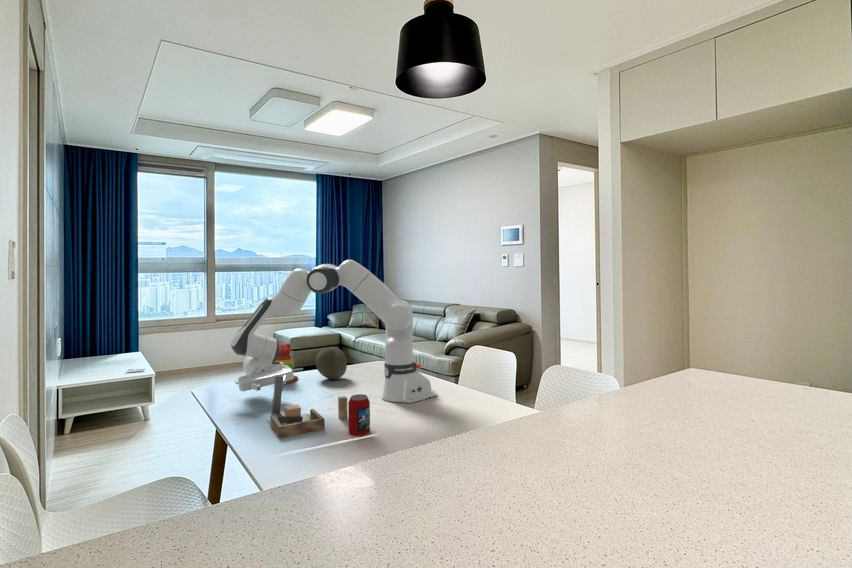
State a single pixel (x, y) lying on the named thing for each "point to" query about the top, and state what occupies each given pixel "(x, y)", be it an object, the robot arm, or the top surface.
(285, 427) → the wooden tray
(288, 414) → the block
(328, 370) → the cantaloupe
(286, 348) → the stacking bear
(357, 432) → the beverage can
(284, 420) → the hook tool
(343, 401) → the plain rod
